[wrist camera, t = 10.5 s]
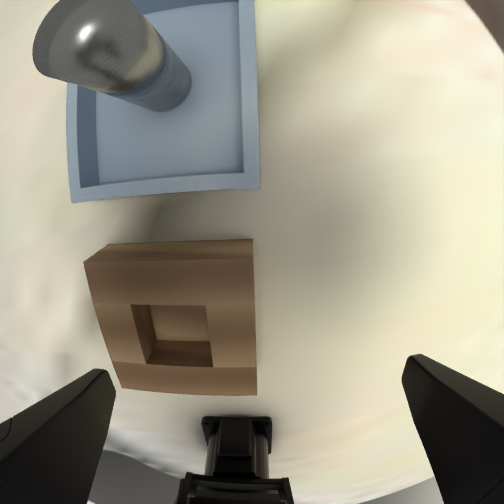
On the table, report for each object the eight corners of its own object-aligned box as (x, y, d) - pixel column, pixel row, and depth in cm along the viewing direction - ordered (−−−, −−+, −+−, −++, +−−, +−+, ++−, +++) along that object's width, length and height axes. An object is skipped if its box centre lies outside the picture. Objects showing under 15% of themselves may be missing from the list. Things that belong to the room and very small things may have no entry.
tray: (259, 183, 17) (260, 188, 14) (95, 195, 17) (71, 203, 15) (252, -4, 13) (252, -27, 10) (96, 23, 13) (76, 9, 10)
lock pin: (192, 108, 15) (119, 59, 6) (136, 115, 15) (27, 91, 6) (191, 55, 14) (131, -32, 5) (137, 64, 14) (41, 5, 5)
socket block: (256, 363, 22) (257, 395, 18) (135, 360, 22) (121, 387, 18) (252, 239, 18) (252, 258, 15) (107, 244, 19) (83, 262, 15)
